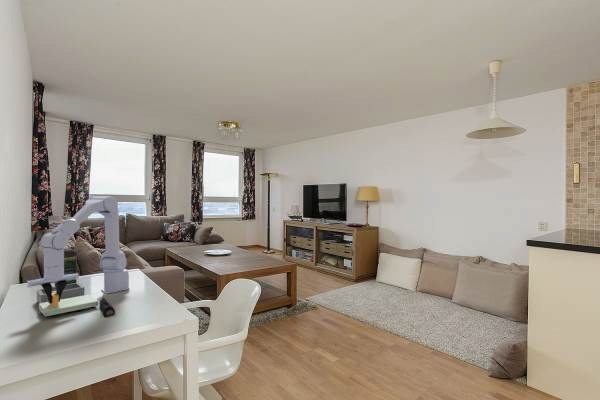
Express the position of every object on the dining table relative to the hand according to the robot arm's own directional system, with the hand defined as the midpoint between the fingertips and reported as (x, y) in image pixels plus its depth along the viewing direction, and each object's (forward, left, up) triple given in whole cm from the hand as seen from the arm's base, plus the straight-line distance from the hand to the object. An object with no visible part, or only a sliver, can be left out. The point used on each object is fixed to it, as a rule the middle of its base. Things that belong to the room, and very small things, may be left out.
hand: (54, 302), depth 111 cm
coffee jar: (-9, -34, -4) cm, 36 cm away
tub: (-4, -15, -4) cm, 16 cm away
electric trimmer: (-14, +11, -5) cm, 18 cm away
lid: (-4, 0, -3) cm, 5 cm away
